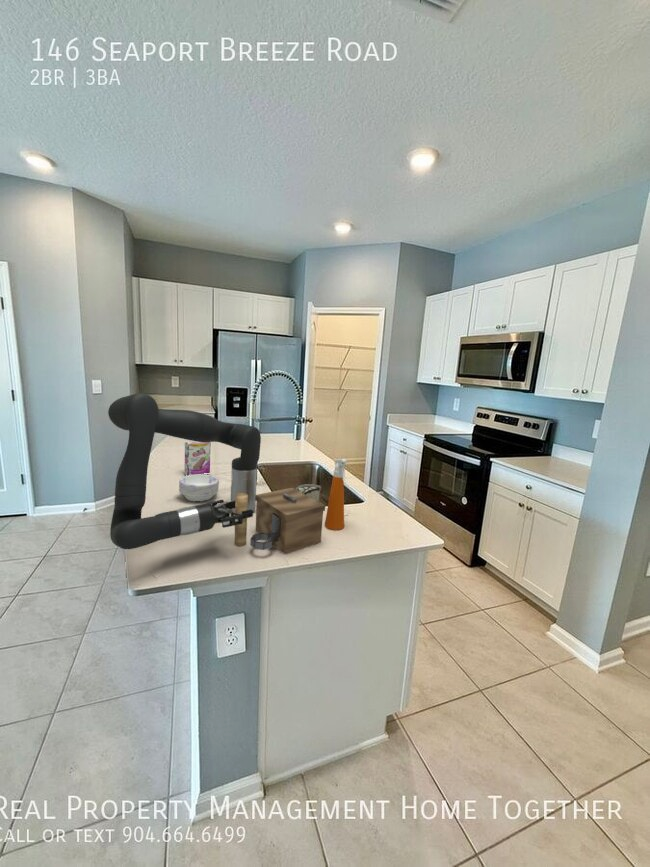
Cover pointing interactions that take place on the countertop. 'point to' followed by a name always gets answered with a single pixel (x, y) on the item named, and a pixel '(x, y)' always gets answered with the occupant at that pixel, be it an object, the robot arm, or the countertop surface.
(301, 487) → the food container
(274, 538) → the hasp
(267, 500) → the toolbox
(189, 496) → the paper bowls
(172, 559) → the countertop surface
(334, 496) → the spray bottle
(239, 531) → the tan wooden cylinder
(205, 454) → the candy bar box
